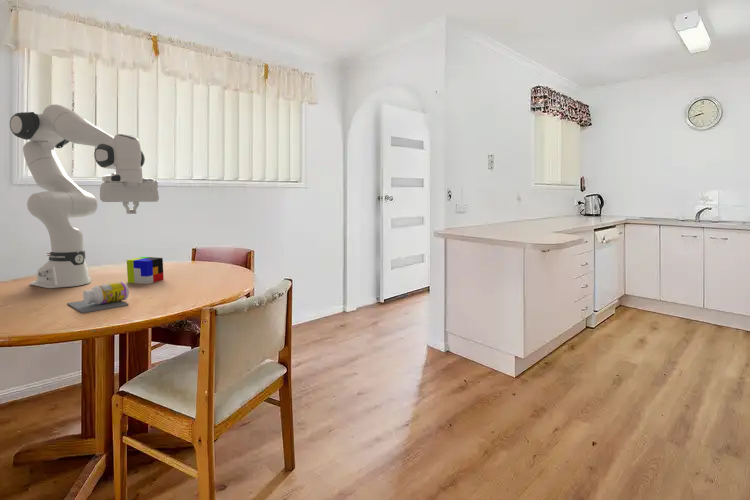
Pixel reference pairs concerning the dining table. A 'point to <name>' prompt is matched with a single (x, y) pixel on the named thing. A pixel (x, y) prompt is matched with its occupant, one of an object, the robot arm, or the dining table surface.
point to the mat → (95, 306)
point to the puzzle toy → (145, 270)
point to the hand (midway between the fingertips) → (131, 213)
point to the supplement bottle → (106, 293)
